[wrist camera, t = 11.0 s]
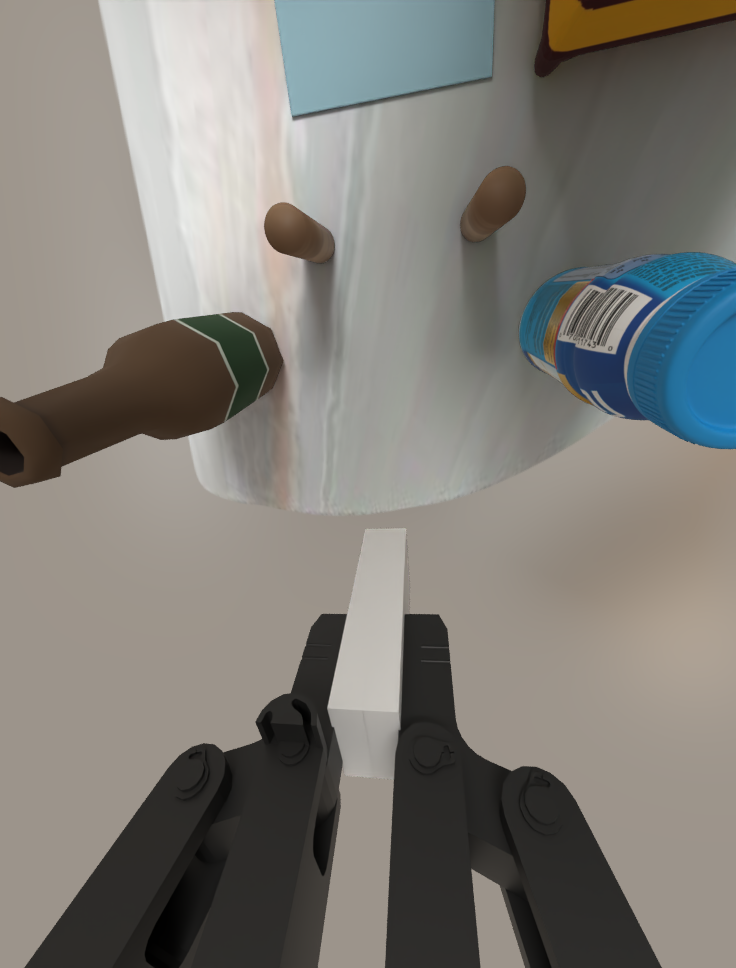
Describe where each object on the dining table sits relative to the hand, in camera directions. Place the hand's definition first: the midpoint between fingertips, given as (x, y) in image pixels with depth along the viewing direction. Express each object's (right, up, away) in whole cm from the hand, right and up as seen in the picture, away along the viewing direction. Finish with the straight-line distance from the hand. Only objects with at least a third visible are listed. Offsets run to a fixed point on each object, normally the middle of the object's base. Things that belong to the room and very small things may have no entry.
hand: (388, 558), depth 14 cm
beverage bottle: (+16, +16, +17) cm, 29 cm away
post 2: (+8, +23, +14) cm, 28 cm away
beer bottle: (-13, +15, +22) cm, 29 cm away
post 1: (-5, +23, +16) cm, 28 cm away
